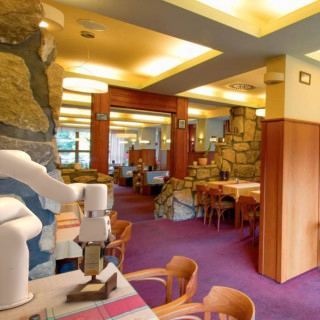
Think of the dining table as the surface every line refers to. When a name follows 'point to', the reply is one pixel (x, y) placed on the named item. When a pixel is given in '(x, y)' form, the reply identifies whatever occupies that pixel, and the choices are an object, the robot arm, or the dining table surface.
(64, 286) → the dining table surface
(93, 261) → the shoe polish box
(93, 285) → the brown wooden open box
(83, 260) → the ice cream bowl
